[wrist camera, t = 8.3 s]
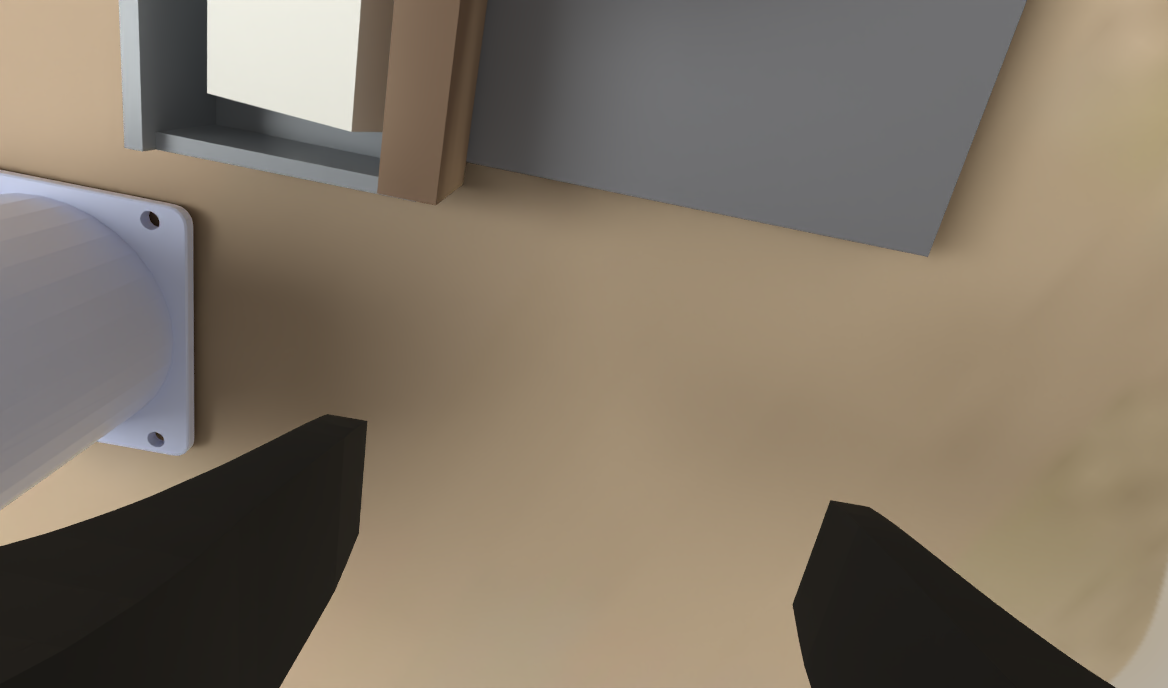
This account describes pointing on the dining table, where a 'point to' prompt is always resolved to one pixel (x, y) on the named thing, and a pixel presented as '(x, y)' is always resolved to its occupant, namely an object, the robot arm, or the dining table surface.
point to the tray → (221, 107)
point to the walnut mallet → (430, 97)
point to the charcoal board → (747, 104)
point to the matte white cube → (303, 58)
